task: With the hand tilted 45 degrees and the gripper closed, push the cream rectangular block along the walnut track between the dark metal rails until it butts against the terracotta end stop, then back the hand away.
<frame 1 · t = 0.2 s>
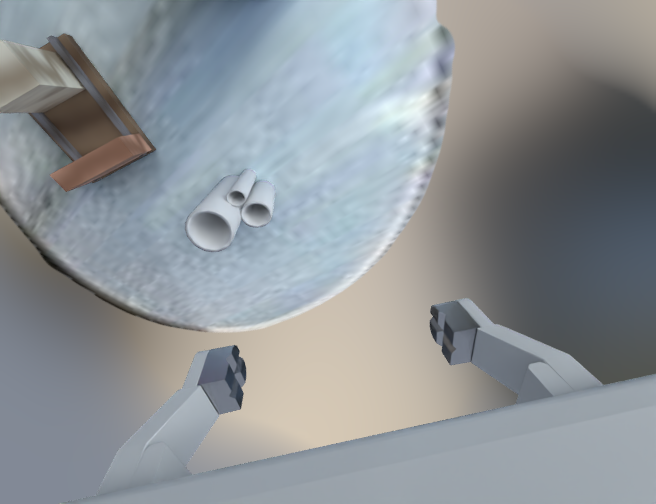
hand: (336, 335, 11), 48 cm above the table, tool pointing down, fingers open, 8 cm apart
vase: (246, 187, 55), on the table
cream rectangular block: (26, 81, 38), point 6 cm above the table, slide at 0.0 cm
track: (90, 122, 46), on the table
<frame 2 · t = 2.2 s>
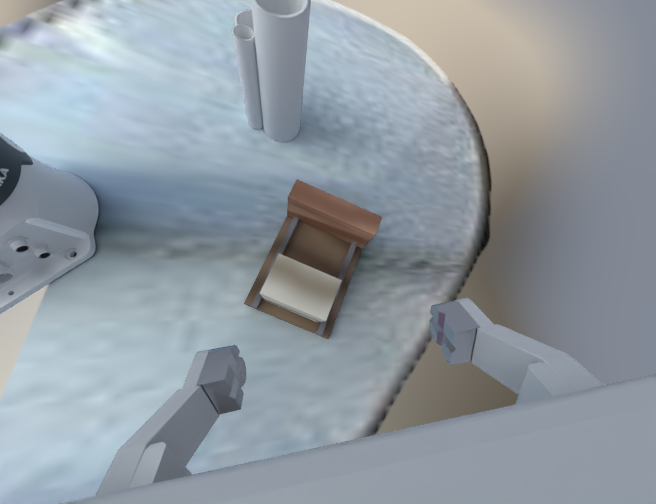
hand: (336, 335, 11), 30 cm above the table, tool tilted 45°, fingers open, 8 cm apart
vase: (270, 120, 48), on the table
cream rectangular block: (299, 291, 35), point 6 cm above the table, slide at 0.0 cm
track: (312, 261, 43), on the table
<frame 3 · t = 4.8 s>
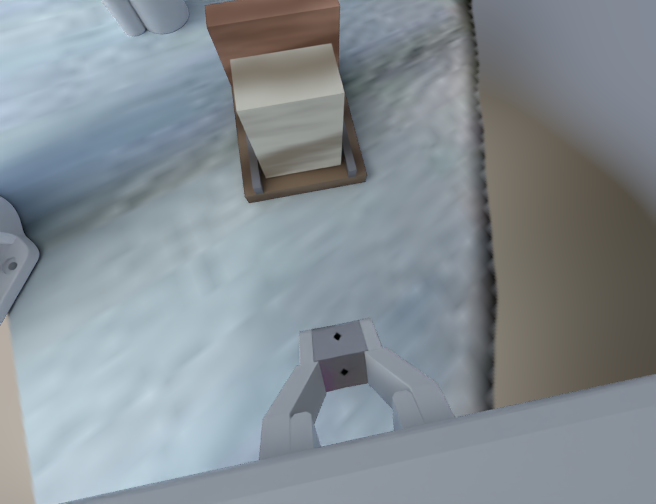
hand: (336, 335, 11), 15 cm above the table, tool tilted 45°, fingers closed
vase: (149, 18, 38), on the table
cream rectangular block: (294, 120, 25), point 6 cm above the table, slide at 0.0 cm
track: (293, 119, 32), on the table
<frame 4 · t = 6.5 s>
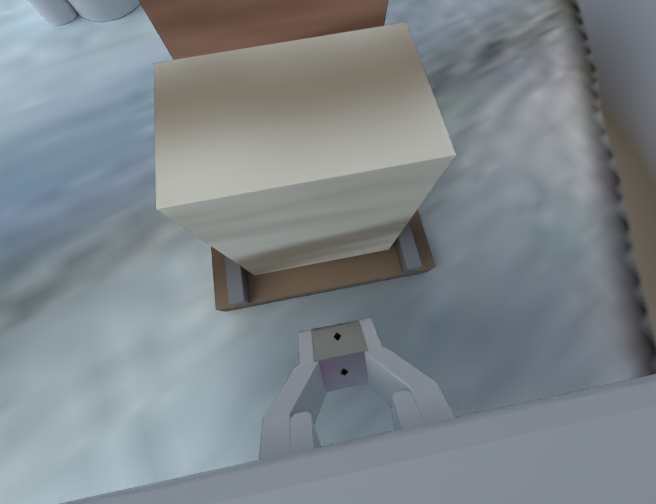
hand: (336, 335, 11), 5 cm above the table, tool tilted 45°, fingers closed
cream rectangular block: (308, 185, 12), point 6 cm above the table, slide at 0.0 cm
track: (302, 158, 20), on the table
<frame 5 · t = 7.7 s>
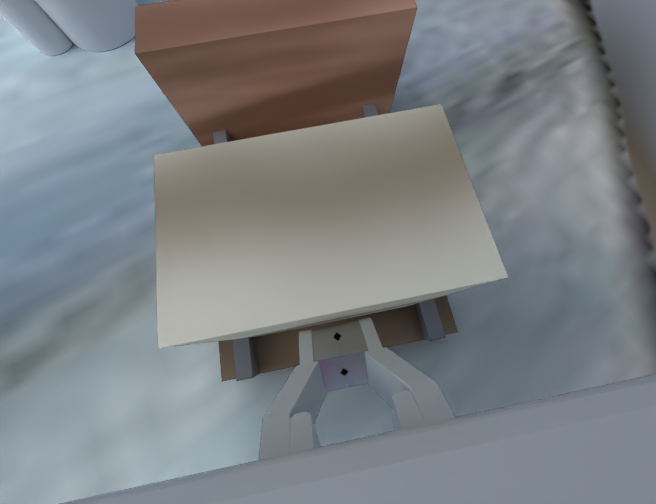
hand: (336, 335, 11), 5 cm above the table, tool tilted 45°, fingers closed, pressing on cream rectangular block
vase: (81, 27, 24), on the table
cream rectangular block: (323, 256, 11), point 6 cm above the table, slide at 0.4 cm, touching gripper
track: (311, 203, 19), on the table
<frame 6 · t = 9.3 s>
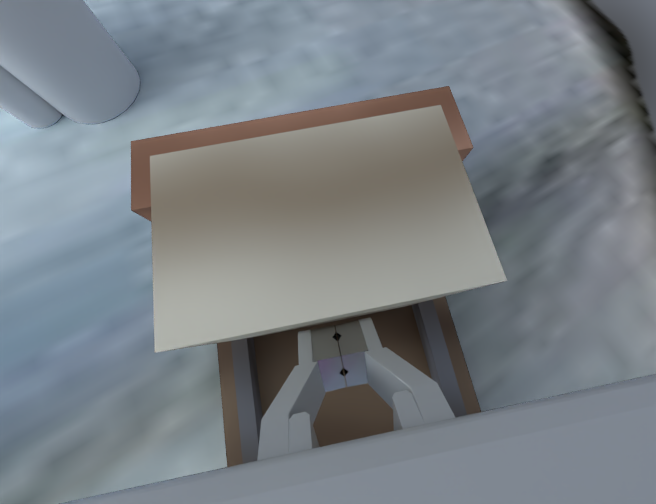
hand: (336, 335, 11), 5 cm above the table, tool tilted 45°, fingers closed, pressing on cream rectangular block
vase: (71, 93, 22), on the table
cream rectangular block: (321, 257, 11), point 6 cm above the table, slide at 8.1 cm, touching gripper
track: (331, 314, 16), on the table
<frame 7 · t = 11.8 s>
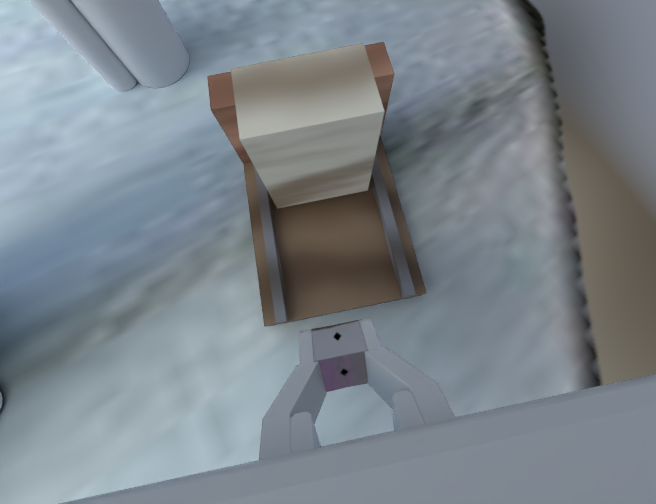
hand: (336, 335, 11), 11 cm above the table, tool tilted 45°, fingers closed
vase: (141, 67, 31), on the table
cream rectangular block: (312, 141, 20), point 6 cm above the table, slide at 8.0 cm
track: (322, 203, 25), on the table
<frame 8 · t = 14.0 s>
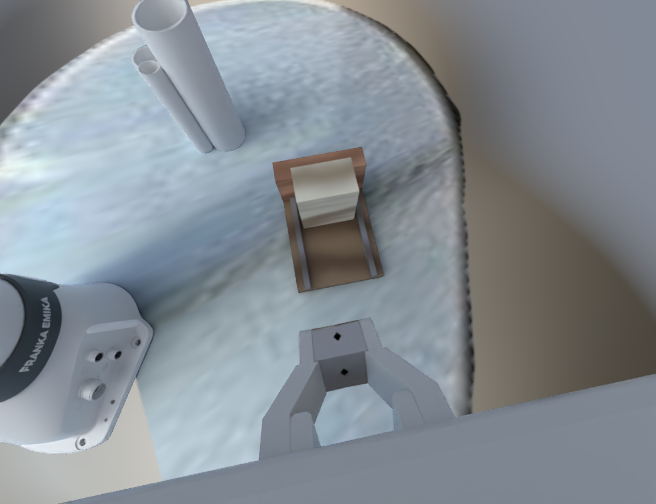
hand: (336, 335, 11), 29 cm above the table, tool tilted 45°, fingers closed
vase: (215, 137, 49), on the table
cream rectangular block: (325, 196, 38), point 6 cm above the table, slide at 8.0 cm
track: (328, 225, 44), on the table
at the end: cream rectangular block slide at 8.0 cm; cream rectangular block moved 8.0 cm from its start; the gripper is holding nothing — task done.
